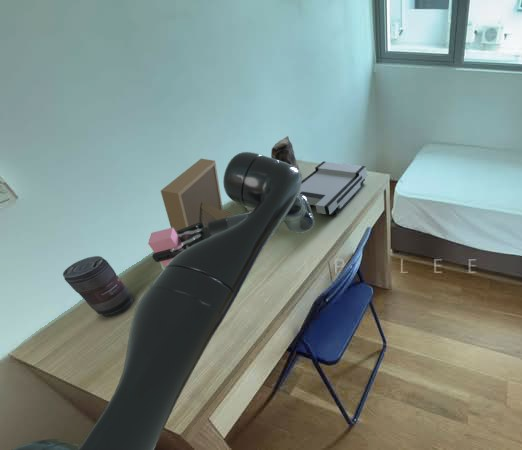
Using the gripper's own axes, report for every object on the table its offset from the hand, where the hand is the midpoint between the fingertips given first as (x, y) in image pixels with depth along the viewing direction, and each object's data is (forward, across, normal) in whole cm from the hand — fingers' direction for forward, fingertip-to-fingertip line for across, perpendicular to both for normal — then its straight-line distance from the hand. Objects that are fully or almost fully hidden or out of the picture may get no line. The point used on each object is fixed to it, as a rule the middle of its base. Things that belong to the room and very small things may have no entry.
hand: (156, 251), depth 73 cm
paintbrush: (-20, -43, +15) cm, 49 cm away
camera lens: (+17, -7, +18) cm, 26 cm away
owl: (-35, -59, +18) cm, 71 cm away
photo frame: (-8, -27, +18) cm, 34 cm away
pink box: (-3, 0, +6) cm, 7 cm away
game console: (-48, -36, +18) cm, 63 cm away
